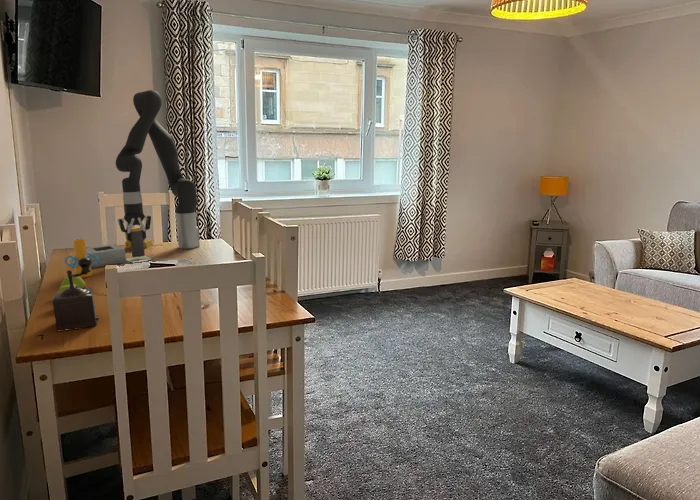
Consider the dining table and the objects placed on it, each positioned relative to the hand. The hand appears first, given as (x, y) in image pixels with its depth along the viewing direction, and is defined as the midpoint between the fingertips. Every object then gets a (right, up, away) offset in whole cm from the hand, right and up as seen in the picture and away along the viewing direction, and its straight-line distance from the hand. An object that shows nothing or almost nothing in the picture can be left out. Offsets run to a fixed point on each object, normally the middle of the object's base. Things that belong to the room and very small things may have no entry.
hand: (136, 240), depth 230 cm
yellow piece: (-10, -3, +29) cm, 30 cm away
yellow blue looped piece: (-12, -15, -23) cm, 30 cm away
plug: (0, -7, +2) cm, 7 cm away
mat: (0, -9, +2) cm, 9 cm away
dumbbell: (0, -22, -53) cm, 57 cm away
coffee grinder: (+12, -26, -72) cm, 77 cm away
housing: (-14, -9, 0) cm, 17 cm away
